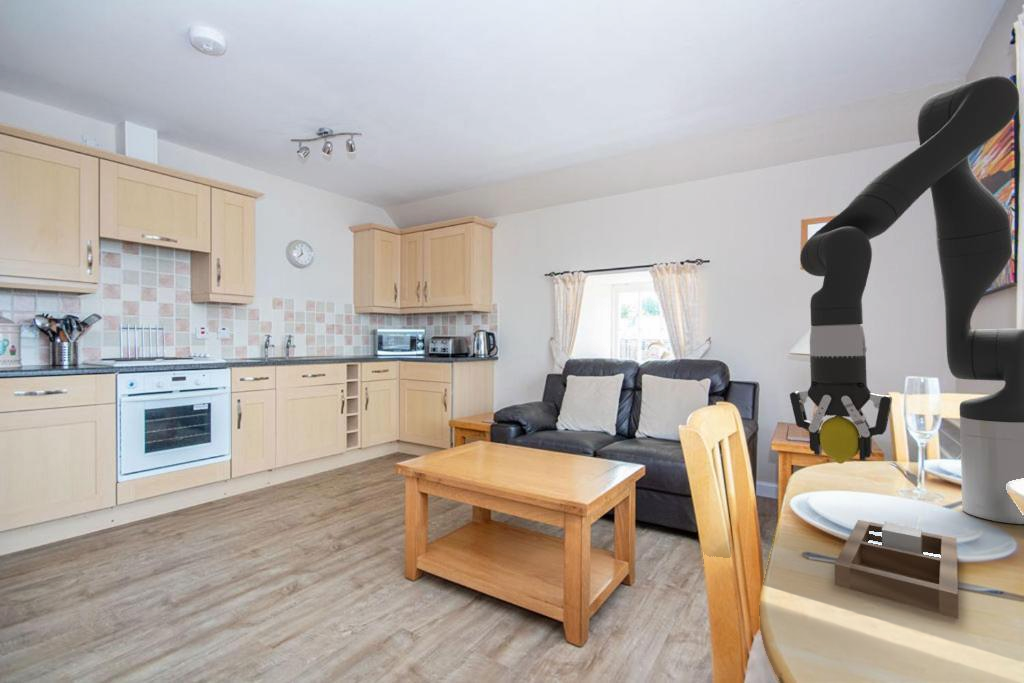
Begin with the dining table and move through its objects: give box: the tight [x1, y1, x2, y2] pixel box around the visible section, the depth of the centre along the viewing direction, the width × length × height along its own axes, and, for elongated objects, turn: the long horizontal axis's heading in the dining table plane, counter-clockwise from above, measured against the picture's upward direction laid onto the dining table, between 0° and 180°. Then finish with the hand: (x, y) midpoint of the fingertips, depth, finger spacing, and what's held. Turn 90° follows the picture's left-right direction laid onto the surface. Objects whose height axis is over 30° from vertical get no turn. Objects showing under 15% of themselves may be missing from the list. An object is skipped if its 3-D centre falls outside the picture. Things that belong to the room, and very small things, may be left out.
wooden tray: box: [834, 519, 959, 619], centre depth 62 cm, size 20×11×4 cm, turn 137°
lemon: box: [819, 415, 861, 465], centre depth 78 cm, size 6×6×8 cm
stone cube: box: [882, 521, 923, 554], centre depth 65 cm, size 4×4×4 cm
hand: (840, 456), depth 78 cm, fingers closed on lemon, 5 cm apart
